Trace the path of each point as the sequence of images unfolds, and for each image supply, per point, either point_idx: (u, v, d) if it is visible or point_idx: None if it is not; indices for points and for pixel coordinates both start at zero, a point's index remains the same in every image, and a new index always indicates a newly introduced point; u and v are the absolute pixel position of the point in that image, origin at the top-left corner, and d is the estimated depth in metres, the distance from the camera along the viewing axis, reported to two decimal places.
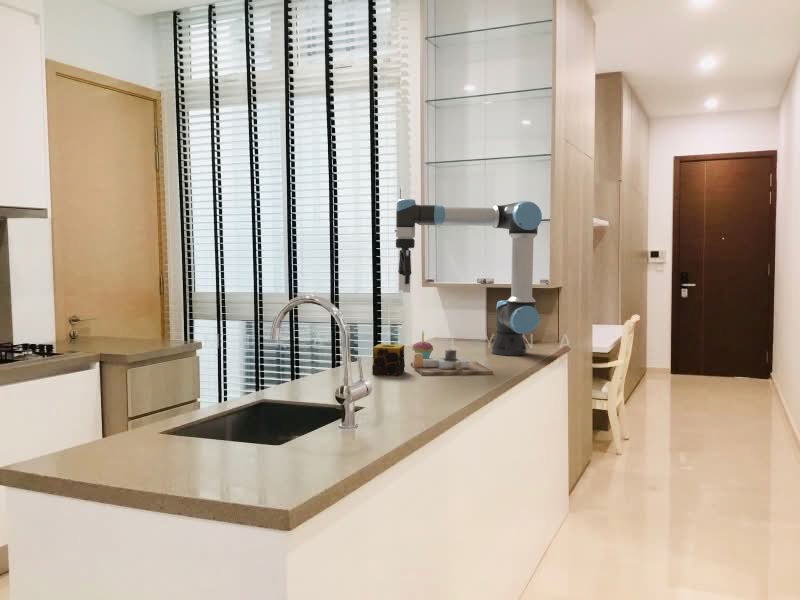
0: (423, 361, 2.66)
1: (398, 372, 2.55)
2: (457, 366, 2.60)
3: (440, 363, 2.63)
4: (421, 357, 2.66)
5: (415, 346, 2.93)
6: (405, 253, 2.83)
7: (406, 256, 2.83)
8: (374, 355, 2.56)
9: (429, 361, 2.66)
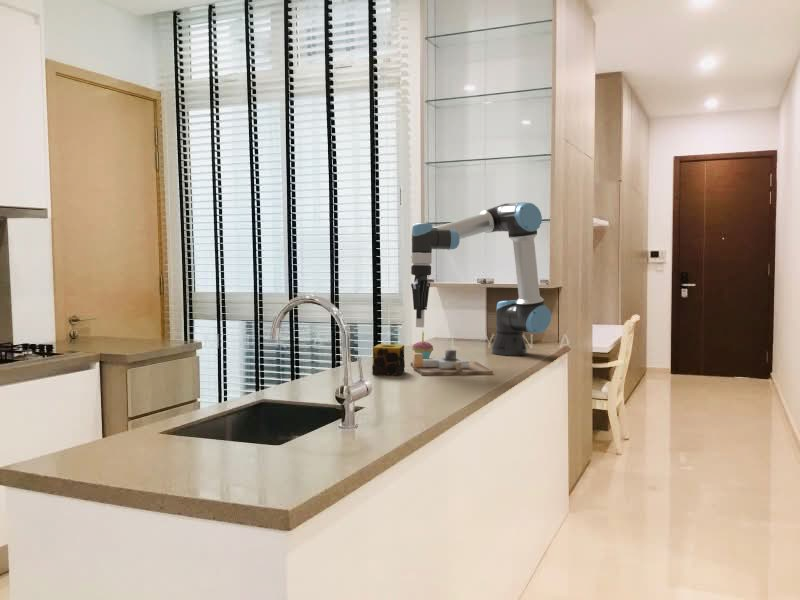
0: (423, 361, 2.66)
1: (398, 372, 2.55)
2: (457, 366, 2.60)
3: (440, 363, 2.63)
4: (421, 357, 2.66)
5: (415, 346, 2.93)
6: (412, 287, 2.68)
7: (414, 290, 2.68)
8: (374, 355, 2.56)
9: (429, 361, 2.66)
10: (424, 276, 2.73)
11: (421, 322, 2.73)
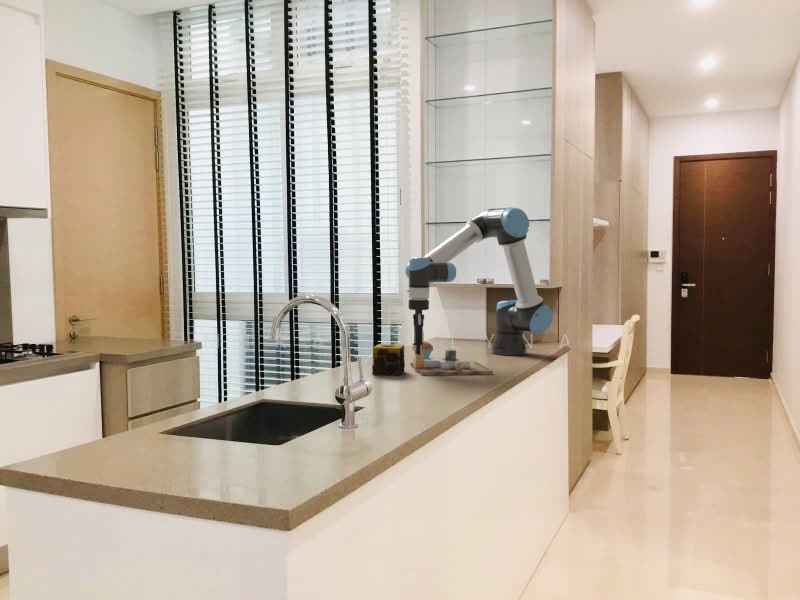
0: (424, 361, 2.65)
1: (398, 372, 2.55)
2: (457, 366, 2.60)
3: (442, 363, 2.63)
4: (422, 357, 2.65)
5: None
6: (417, 323, 2.62)
7: (418, 325, 2.63)
8: (374, 355, 2.56)
9: (430, 361, 2.66)
10: None
11: None
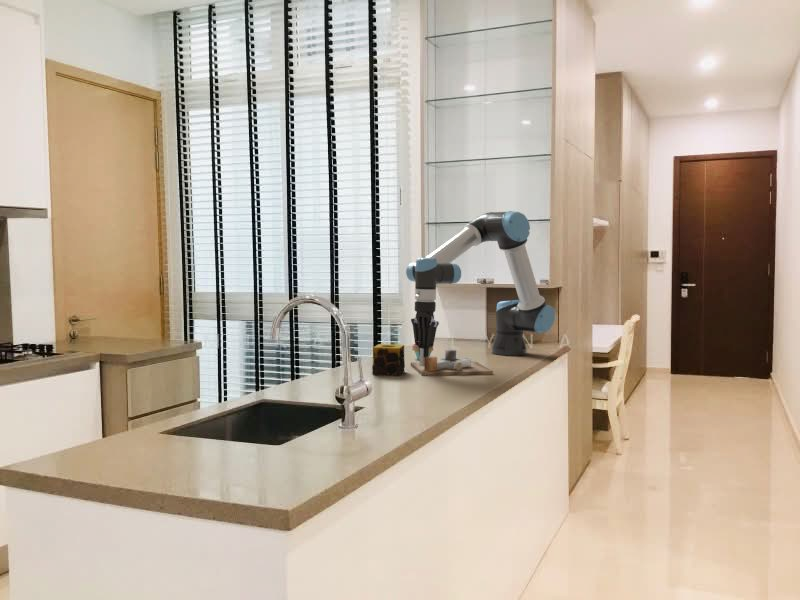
0: (437, 364, 2.60)
1: (398, 372, 2.55)
2: (457, 366, 2.60)
3: (455, 364, 2.62)
4: (436, 360, 2.59)
5: (415, 346, 2.93)
6: (433, 325, 2.56)
7: (433, 328, 2.57)
8: (374, 355, 2.56)
9: (440, 363, 2.62)
10: None
11: None
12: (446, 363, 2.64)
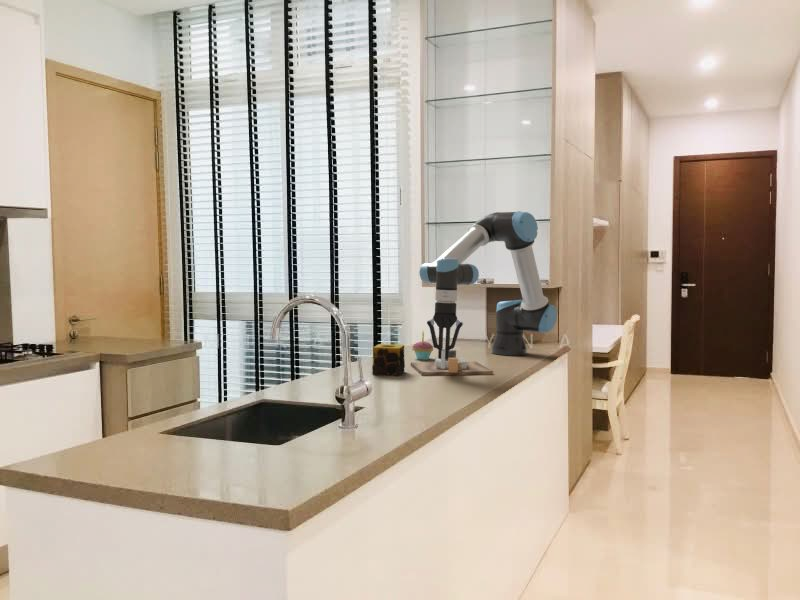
0: None
1: (398, 372, 2.55)
2: None
3: (466, 363, 2.64)
4: None
5: (415, 346, 2.93)
6: None
7: (459, 329, 2.55)
8: (374, 355, 2.56)
9: None
10: None
11: (445, 362, 2.58)
12: None
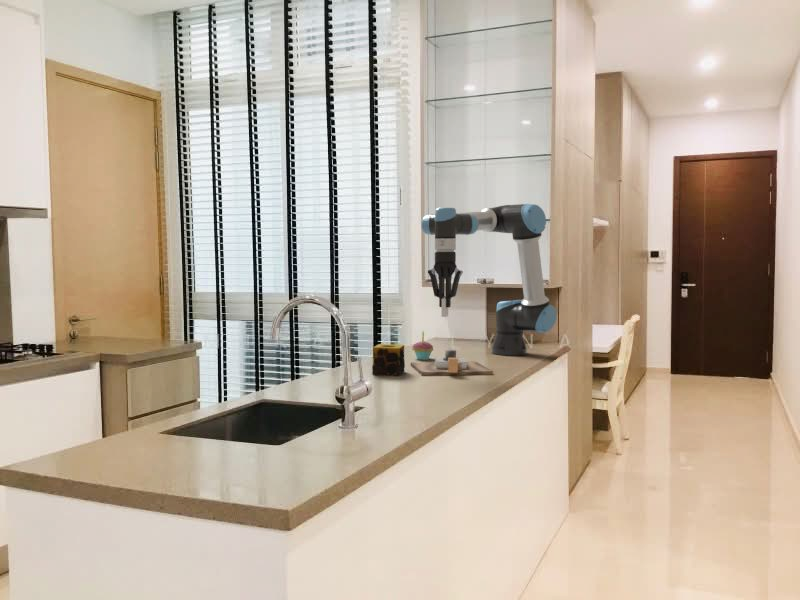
0: None
1: (398, 372, 2.55)
2: None
3: (466, 363, 2.64)
4: None
5: (415, 346, 2.93)
6: (459, 274, 2.57)
7: (458, 277, 2.58)
8: (374, 355, 2.56)
9: None
10: None
11: (447, 311, 2.62)
12: None
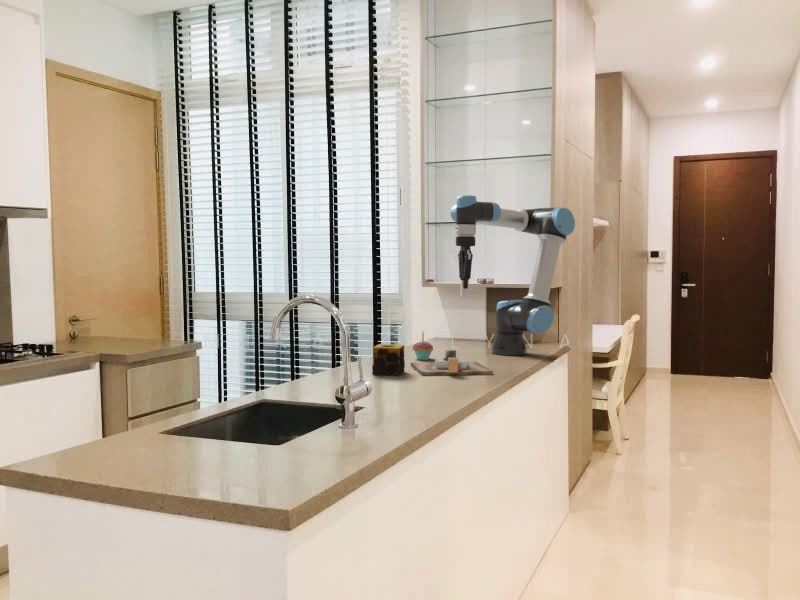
0: None
1: (398, 372, 2.55)
2: None
3: (466, 363, 2.64)
4: None
5: (415, 346, 2.93)
6: (467, 258, 2.74)
7: (467, 260, 2.75)
8: (374, 355, 2.56)
9: None
10: None
11: (467, 292, 2.80)
12: None
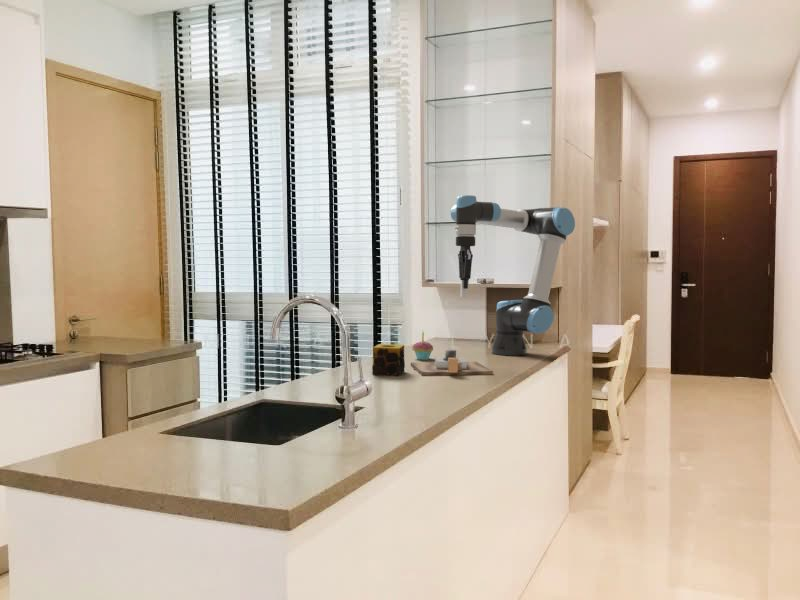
0: None
1: (398, 372, 2.55)
2: None
3: (466, 363, 2.64)
4: None
5: (415, 346, 2.93)
6: (467, 258, 2.74)
7: (467, 260, 2.75)
8: (374, 355, 2.56)
9: None
10: None
11: (467, 292, 2.80)
12: None
